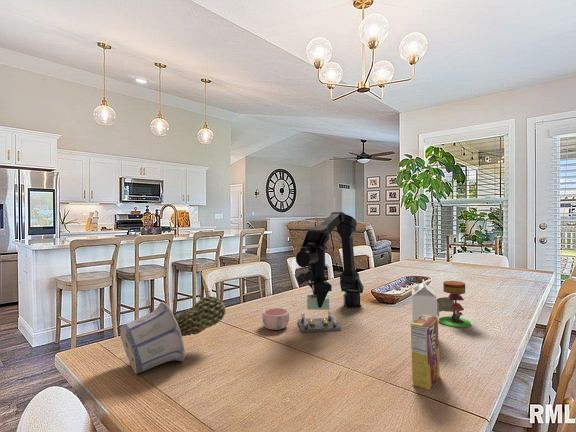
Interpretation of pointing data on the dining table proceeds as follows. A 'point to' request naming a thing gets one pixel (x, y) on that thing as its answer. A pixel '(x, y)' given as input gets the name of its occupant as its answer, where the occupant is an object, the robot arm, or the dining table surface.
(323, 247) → the robot arm
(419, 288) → the milk carton
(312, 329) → the chassis
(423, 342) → the candy box
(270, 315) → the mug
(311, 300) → the pale green block
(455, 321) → the brown and green pedestal
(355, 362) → the dining table surface
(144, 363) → the potted plant
